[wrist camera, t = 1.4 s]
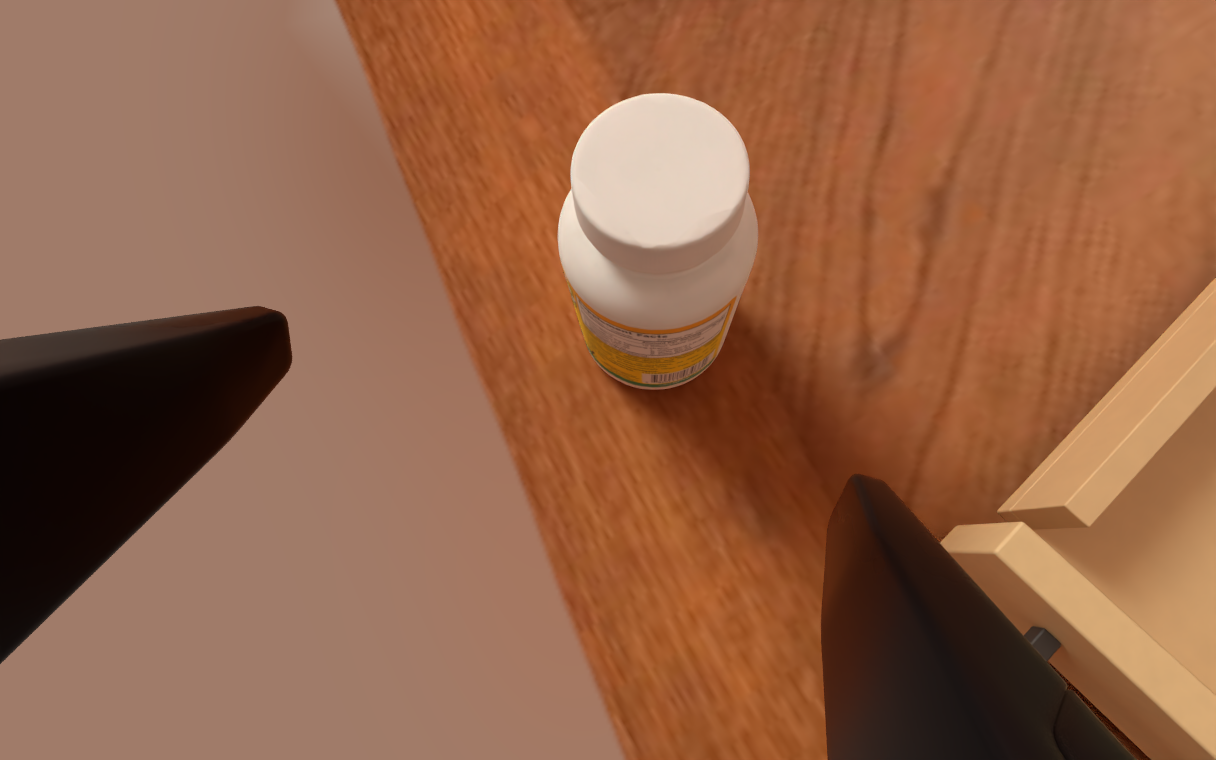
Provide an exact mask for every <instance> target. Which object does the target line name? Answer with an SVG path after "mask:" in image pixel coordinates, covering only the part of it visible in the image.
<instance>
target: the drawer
mask: <svg viewBox="0 0 1216 760" xmlns="http://www.w3.org/2000/svg"><path fill="white" fill-rule="evenodd" d="M997 512H998V514H1000V515H1001V516H1002V517H1003V518H1004V519H1005V520H1006V521H1007V523H990V524H974V525H958V526H955V528H954V529H953V530H952V531H951V532H950V533H949V534H948V535H947V536H946V537H945V538H944V539H943V540H942V541H941V542H940V544H941V545H942V546H943V547H944V548H945V549H946V550H947V552H948V553H949V554H950V555H951V556H952V557H953V558H954V559H955V560H956V561H957V563H958V564H959V565H960V566H961V567H962V568H963V569H964V570H965V571H966V573H967V574H968V575H969V576H970V577H971V578H972V579H973V580H974V581H975V583H976V584H977V585H978V586H979V587H980V588H981V589H982V590H983V591H984V592H985V594H986V595H987V596H988V597H989V598H990V599H991V600H992V601H993V602H994V604H995V605H996V606H997V607H998V608H999V609H1000V610H1001V611H1002V612H1003V613H1004V615H1005V616H1006V617H1007V618H1008V619H1009V620H1010V621H1011V622H1012V623H1013V625H1014V626H1015V627H1016V628H1017V629H1018V630H1019V631H1020V632H1021V633H1022V635H1023V636H1024V637H1025V638H1026V639H1027V640H1028V641H1029V642H1030V643H1031V644H1032V646H1033V647H1034V648H1035V649H1036V650H1037V651H1038V652H1039V653H1040V654H1041V656H1042V657H1043V658H1044V659H1045V660H1046V661H1048V662H1049V663H1050V664H1052V665H1053V666H1054V667H1055V668H1056V669H1057V670H1058V671H1059V672H1060V673H1061V674H1062V675H1063V676H1064V677H1065V678H1066V679H1067V680H1068V681H1069V682H1070V683H1071V684H1072V685H1073V686H1075V687H1076V688H1077V689H1078V690H1079V691H1080V692H1081V693H1082V694H1083V695H1084V696H1085V697H1086V698H1087V699H1088V700H1089V701H1090V702H1091V703H1092V704H1093V705H1094V706H1095V707H1096V708H1098V709H1099V710H1100V711H1101V712H1102V713H1103V714H1104V715H1105V716H1106V717H1107V718H1108V719H1109V720H1110V721H1111V722H1112V723H1113V724H1114V725H1115V726H1116V727H1117V728H1118V729H1119V730H1121V731H1122V732H1123V733H1124V734H1125V735H1126V736H1127V737H1128V738H1129V739H1130V740H1131V741H1132V742H1133V743H1134V744H1135V745H1136V746H1137V747H1138V748H1139V749H1140V750H1141V751H1142V752H1144V753H1145V754H1146V755H1147V756H1148V757H1149V758H1150V759H1151V760H1216V278H1215V279H1214V280H1213V281H1212V282H1211V283H1210V284H1209V285H1208V286H1207V287H1206V288H1205V289H1204V290H1203V291H1202V293H1201V294H1200V295H1199V296H1198V297H1197V298H1196V299H1195V300H1194V301H1193V302H1192V303H1191V304H1190V305H1189V306H1188V307H1187V309H1186V310H1185V311H1184V312H1183V313H1182V314H1181V315H1180V316H1179V317H1178V318H1177V319H1176V320H1175V321H1174V322H1173V324H1172V325H1171V326H1170V327H1169V328H1168V329H1167V330H1166V331H1165V332H1164V333H1163V334H1162V335H1161V336H1160V337H1159V338H1158V340H1157V341H1156V342H1155V343H1154V344H1153V345H1152V346H1151V347H1150V348H1149V349H1148V350H1147V351H1146V352H1145V353H1144V354H1143V356H1142V357H1141V358H1140V359H1139V360H1138V361H1137V362H1136V363H1135V364H1134V365H1133V366H1132V367H1131V368H1130V369H1129V370H1128V372H1127V373H1126V374H1125V375H1124V376H1123V377H1122V378H1121V379H1120V380H1119V381H1118V382H1117V383H1116V384H1115V385H1114V387H1113V388H1112V389H1111V390H1110V391H1109V392H1108V393H1107V394H1106V395H1105V396H1104V397H1103V398H1102V399H1101V400H1100V401H1099V403H1098V404H1097V405H1096V406H1095V407H1094V408H1093V409H1092V410H1091V411H1090V412H1089V413H1088V414H1087V415H1086V416H1085V417H1084V419H1083V420H1082V421H1081V422H1080V423H1079V424H1078V425H1077V426H1076V427H1075V428H1074V429H1073V430H1072V431H1071V432H1070V433H1069V435H1068V436H1067V437H1066V438H1065V439H1064V440H1063V441H1062V442H1061V443H1060V444H1059V445H1058V446H1057V447H1056V448H1055V450H1054V451H1053V452H1052V453H1051V454H1050V455H1049V456H1048V457H1047V458H1046V459H1045V460H1044V461H1043V462H1042V463H1041V464H1040V466H1039V467H1038V468H1037V469H1036V470H1035V471H1034V472H1033V473H1032V474H1031V475H1030V476H1029V477H1028V478H1027V479H1026V480H1025V482H1024V483H1023V484H1022V485H1021V486H1020V487H1019V488H1018V489H1017V490H1016V491H1015V492H1014V493H1013V494H1012V495H1011V496H1010V498H1009V499H1008V500H1007V501H1006V502H1005V503H1004V504H1003V505H1002V506H1001V507H1000V508H999V509H998V511H997Z"/></svg>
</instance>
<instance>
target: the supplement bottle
mask: <svg viewBox="0 0 1216 760" xmlns="http://www.w3.org/2000/svg"><path fill="white" fill-rule="evenodd" d="M749 178H750V167H749V159H748V154H747V151H746V148H745V145H744V142H743V140H742V139H741V137H740V135H739V133H738V131H737V130H736V129H735V128H734V126H733V125H732V124H731V123H730V122H729V120H727V119H726V118H725V117H724V116H723V115H722V114H721V113H719V112H718V111H717V110H715V109H714V108H712V107H710V106H709V105H707V104H705V103H703V102H700V101H698V100H695V99H692V98H689V97H686V96H681V95H675V94H663V93H659V94H645V95H640V96H636V97H633V98H630V99H627V100H624V101H622V102H619V103H617V104H615V105H613V106H611V107H609V108H608V109H607V110H605V111H604V112H603V113H601V114H600V115H599V116H598V117H597V118H595V119H594V120H593V121H592V122H591V123H590V125H589V126H588V127H587V128H586V129H585V131H584V132H583V134H582V135H581V137H580V139H579V141H578V143H577V145H576V148H575V150H574V153H573V158H572V163H571V188H572V189H571V190H570V192H569V194H568V196H567V198H566V200H565V202H564V205H563V208H562V211H561V215H560V219H559V226H558V247H559V254H560V260H561V264H562V267H563V273H564V275H565V278H566V280H567V284H568V287H569V290H570V293H571V296H572V300H573V304H574V307H575V310H576V314H577V317H578V321H579V324H580V327H581V330H582V333H583V336H584V339H585V342H586V345H587V348H588V350H589V352H590V354H591V356H592V357H593V359H594V360H595V362H596V363H597V364H598V365H599V367H600V368H601V369H602V370H603V371H605V372H606V373H607V374H608V375H610V376H611V377H613V378H614V379H616V380H618V381H620V382H622V383H624V384H626V385H629V386H632V387H635V388H640V389H649V390H659V389H668V388H672V387H676V386H679V385H682V384H685V383H687V382H689V381H691V380H693V379H694V378H696V377H697V376H699V375H700V374H701V373H702V372H704V371H705V370H706V369H707V368H708V367H709V366H710V365H711V364H712V362H713V361H714V360H715V358H716V357H717V355H718V354H719V352H720V350H721V348H722V346H723V343H724V341H725V338H726V335H727V333H728V330H729V327H730V324H731V322H732V319H733V316H734V314H735V311H736V308H737V305H738V303H739V300H740V297H741V295H742V292H743V290H744V287H745V285H746V282H747V280H748V277H749V275H750V272H751V269H752V267H753V263H754V260H755V256H756V252H757V245H758V225H757V218H756V213H755V210H754V206H753V203H752V201H751V198H750V196H749V194H748V192H747V191H748V187H749Z"/></svg>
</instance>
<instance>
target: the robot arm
mask: <svg viewBox="0 0 1216 760" xmlns="http://www.w3.org/2000/svg"><path fill="white" fill-rule="evenodd" d="M291 363H292V351H291V344H290V336H289V328H288V322H287V319H286V317H285V316H284V315H283V314H282V313H281V312H279V311H275V310H272V309H268V308H265V307H261V306H253V307H245V308H238V309H230V310H222V311H216V312H207V313H200V314H192V315H185V316H177V317H170V318H162V319H154V320H147V321H139V322H131V323H124V324H116V325H109V326H101V327H93V328H86V329H79V330H71V331H63V332H55V333H49V334H40V335H33V336H25V337H17V338H11V339H2V340H0V664H1V663H2V662H3V661H4V660H5V659H6V658H7V657H8V656H9V655H10V654H11V653H12V652H13V651H14V650H15V649H16V648H17V647H18V646H19V645H20V644H21V643H22V642H23V641H24V640H25V639H26V638H28V637H29V635H30V634H32V633H33V632H34V631H35V630H36V629H37V628H38V627H39V626H40V625H41V624H42V623H43V622H44V621H45V620H46V619H47V618H48V617H49V616H50V615H51V614H52V613H53V612H54V611H55V610H56V609H57V608H58V607H59V606H60V605H61V604H62V603H64V602H65V601H66V599H68V598H69V597H70V596H71V595H72V594H73V593H74V592H75V591H76V590H77V589H78V588H79V587H80V586H81V585H82V584H83V583H84V582H85V581H86V580H87V579H88V578H89V577H90V576H91V575H92V574H93V573H94V572H95V571H96V570H97V569H98V568H99V567H100V566H101V565H103V563H105V562H106V561H107V560H108V559H109V558H110V557H111V556H112V555H113V554H114V553H115V552H116V551H117V550H118V549H119V548H120V547H121V546H122V545H123V544H124V543H125V542H126V541H127V540H128V539H129V538H130V537H131V536H132V535H133V534H134V533H135V532H136V531H137V530H138V529H140V528H141V527H142V526H143V525H144V524H145V523H146V521H148V520H149V519H150V518H151V517H152V516H153V515H154V514H155V513H156V512H157V511H158V510H159V509H160V508H161V507H162V506H163V505H164V504H165V503H166V502H167V501H168V500H169V499H170V498H171V497H172V496H173V495H175V494H176V493H177V492H178V490H179V489H181V488H182V487H183V486H184V485H185V484H186V483H187V482H188V481H189V480H190V479H191V478H192V477H193V476H194V475H195V474H196V473H197V472H198V471H199V470H200V469H201V468H202V467H203V466H204V465H205V464H206V463H207V462H208V461H209V460H210V459H211V458H212V457H214V456H215V455H216V454H217V453H218V452H219V451H220V450H221V449H222V448H223V447H224V446H225V445H226V444H227V442H229V441H230V440H231V438H232V437H233V436H234V435H235V434H236V433H237V432H238V430H239V429H240V428H241V427H242V426H243V425H244V423H245V422H246V421H247V420H248V419H249V417H250V416H251V415H252V414H253V413H254V412H255V410H256V409H257V408H258V407H259V406H260V404H261V403H262V402H263V401H264V400H265V398H266V397H267V396H268V395H269V394H270V393H271V391H272V390H273V389H274V388H275V386H276V385H277V384H278V383H279V382H280V381H281V379H282V378H283V377H284V376H285V374H286V373H287V372H288V371H289V368H290V366H291ZM821 644H822V662H823V680H824V698H825V716H826V735H827V753H828V760H1137V759H1136V758H1135V757H1134V756H1133V755H1132V754H1131V753H1130V752H1129V751H1128V750H1127V748H1126V747H1125V746H1124V745H1123V744H1122V743H1121V742H1120V741H1119V740H1118V739H1117V738H1116V737H1115V736H1114V735H1113V733H1112V732H1111V731H1110V730H1109V729H1108V728H1107V727H1106V726H1105V725H1104V724H1103V723H1102V722H1101V721H1100V720H1099V718H1098V717H1097V716H1096V715H1095V714H1094V713H1093V712H1092V711H1091V710H1090V708H1089V707H1088V706H1087V705H1086V704H1085V703H1084V702H1083V701H1082V700H1081V698H1080V697H1079V696H1078V695H1077V694H1076V693H1075V692H1074V691H1073V690H1070V689H1068V690H1067V683H1066V682H1065V681H1064V680H1063V679H1062V678H1061V677H1060V675H1059V674H1058V673H1057V672H1056V671H1055V670H1054V669H1053V668H1052V667H1051V665H1050V664H1049V663H1048V662H1047V661H1046V660H1045V659H1044V658H1043V657H1042V656H1041V654H1040V653H1039V652H1038V651H1037V650H1036V649H1035V648H1034V647H1033V646H1032V644H1031V643H1030V642H1029V641H1028V640H1027V639H1026V638H1025V637H1024V636H1023V635H1022V633H1021V632H1020V631H1019V630H1018V629H1017V628H1016V627H1015V626H1014V625H1013V623H1012V622H1011V621H1010V620H1009V619H1008V618H1007V617H1006V616H1005V615H1004V613H1003V612H1002V611H1001V610H1000V609H999V608H998V607H997V606H996V605H995V604H994V602H993V601H992V600H991V599H990V598H989V597H988V596H987V595H986V594H985V592H984V591H983V590H982V589H981V588H980V587H979V586H978V585H977V584H976V583H975V581H974V580H973V579H972V578H971V577H970V576H969V575H968V574H967V573H966V571H965V570H964V569H963V568H962V567H961V566H960V565H959V564H958V563H957V561H956V560H955V559H954V558H953V557H952V556H951V555H950V554H949V553H948V552H947V550H946V549H945V548H944V547H943V546H942V545H941V544H940V543H939V542H938V540H937V539H936V538H935V537H934V536H933V535H932V534H931V533H930V532H929V530H928V529H927V528H926V527H925V526H924V525H923V524H922V523H921V522H920V521H919V519H918V518H917V517H916V516H915V515H914V514H913V513H912V512H911V511H910V509H909V508H908V507H907V506H906V505H905V504H904V503H903V502H902V501H901V500H900V498H899V497H898V496H897V495H896V494H895V493H894V492H893V491H892V490H891V488H890V487H889V486H888V485H887V484H886V483H885V482H884V481H882V480H879V479H875V478H872V477H868V476H864V475H861V474H854V475H852V476H851V477H850V479H849V480H848V482H847V484H846V486H845V488H844V490H843V492H842V494H841V496H840V498H839V500H838V502H837V504H836V506H835V509H834V511H833V513H832V515H831V518H830V521H829V524H828V530H827V543H826V557H825V571H824V585H823V599H822V614H821Z"/></svg>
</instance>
